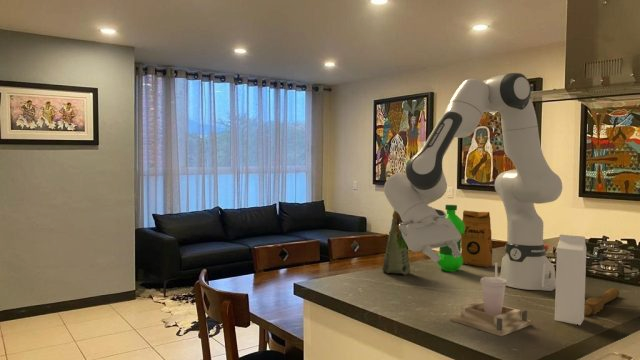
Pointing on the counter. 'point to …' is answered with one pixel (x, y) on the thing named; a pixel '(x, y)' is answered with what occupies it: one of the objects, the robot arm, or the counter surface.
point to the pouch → (396, 250)
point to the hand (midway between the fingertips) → (448, 258)
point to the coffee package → (476, 239)
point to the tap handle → (599, 301)
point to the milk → (570, 279)
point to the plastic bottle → (445, 253)
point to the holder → (492, 319)
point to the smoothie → (493, 293)
